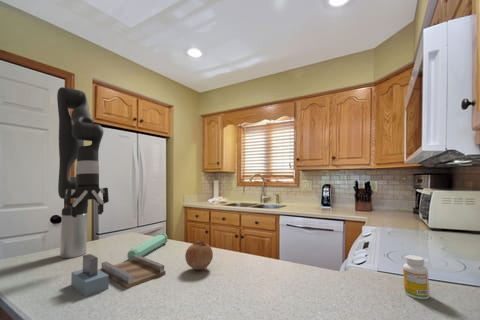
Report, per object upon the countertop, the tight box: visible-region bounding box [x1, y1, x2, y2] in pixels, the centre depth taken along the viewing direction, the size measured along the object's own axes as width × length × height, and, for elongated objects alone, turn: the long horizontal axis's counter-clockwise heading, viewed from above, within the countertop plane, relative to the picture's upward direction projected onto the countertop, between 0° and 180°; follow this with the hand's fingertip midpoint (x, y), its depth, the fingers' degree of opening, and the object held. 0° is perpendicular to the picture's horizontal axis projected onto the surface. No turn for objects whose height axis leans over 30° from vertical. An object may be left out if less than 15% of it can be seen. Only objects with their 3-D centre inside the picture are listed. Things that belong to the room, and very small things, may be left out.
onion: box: [184, 240, 214, 271], centre depth 84 cm, size 10×9×10 cm
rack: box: [99, 254, 167, 289], centre depth 82 cm, size 20×13×3 cm, turn 50°
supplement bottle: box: [402, 254, 431, 300], centre depth 64 cm, size 5×5×10 cm
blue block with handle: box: [70, 253, 110, 297], centre depth 72 cm, size 12×6×9 cm, turn 50°
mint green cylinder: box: [126, 232, 169, 261], centre depth 106 cm, size 6×6×25 cm
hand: (87, 215), depth 91 cm, fingers open, 8 cm apart
